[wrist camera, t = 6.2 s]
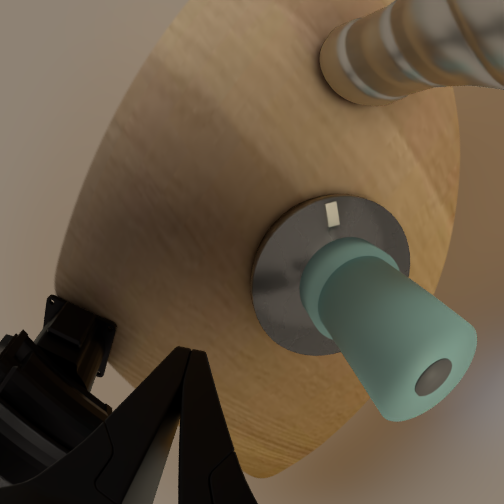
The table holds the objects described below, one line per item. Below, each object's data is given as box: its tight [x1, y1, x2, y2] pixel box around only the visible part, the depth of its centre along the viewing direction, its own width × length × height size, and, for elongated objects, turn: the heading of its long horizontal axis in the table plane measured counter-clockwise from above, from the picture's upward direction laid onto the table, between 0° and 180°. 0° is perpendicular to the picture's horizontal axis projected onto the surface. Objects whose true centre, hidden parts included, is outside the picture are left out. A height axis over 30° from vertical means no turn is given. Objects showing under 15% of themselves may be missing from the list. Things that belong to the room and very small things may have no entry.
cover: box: [299, 237, 477, 421], centre depth 16 cm, size 7×7×11 cm
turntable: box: [251, 194, 410, 356], centre depth 22 cm, size 13×13×1 cm
